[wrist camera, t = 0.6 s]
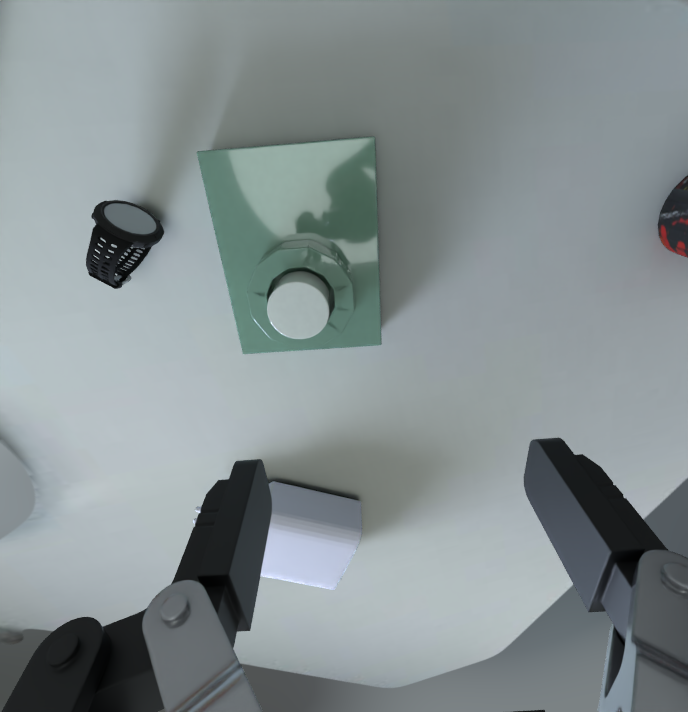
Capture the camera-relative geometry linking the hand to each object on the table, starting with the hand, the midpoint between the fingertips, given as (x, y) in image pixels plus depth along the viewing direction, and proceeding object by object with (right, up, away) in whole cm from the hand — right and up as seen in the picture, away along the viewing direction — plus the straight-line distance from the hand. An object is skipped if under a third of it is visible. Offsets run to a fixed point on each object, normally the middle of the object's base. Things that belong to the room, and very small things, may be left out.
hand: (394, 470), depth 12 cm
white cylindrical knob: (-4, +7, +13) cm, 15 cm away
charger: (-8, -12, +28) cm, 32 cm away
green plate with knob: (-4, +11, +15) cm, 19 cm away
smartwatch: (-15, +12, +15) cm, 24 cm away
